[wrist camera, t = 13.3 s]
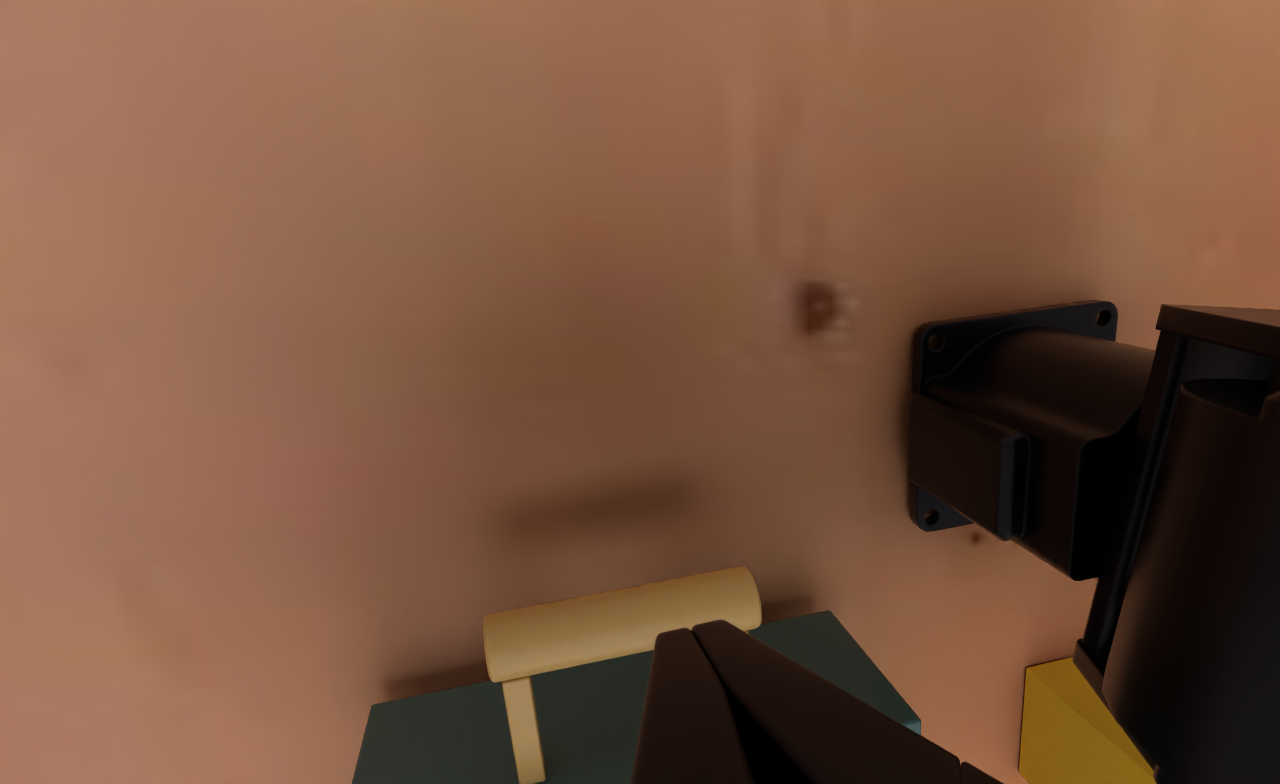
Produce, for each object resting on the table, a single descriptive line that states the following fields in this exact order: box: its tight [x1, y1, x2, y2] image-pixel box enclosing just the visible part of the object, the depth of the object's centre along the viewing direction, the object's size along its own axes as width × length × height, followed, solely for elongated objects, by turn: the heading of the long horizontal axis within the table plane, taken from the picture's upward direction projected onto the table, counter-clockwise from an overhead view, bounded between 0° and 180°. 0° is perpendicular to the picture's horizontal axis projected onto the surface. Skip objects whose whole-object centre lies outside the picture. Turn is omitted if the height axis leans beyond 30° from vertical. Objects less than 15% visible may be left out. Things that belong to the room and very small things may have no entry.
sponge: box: [1019, 657, 1157, 784], centre depth 22 cm, size 7×5×6 cm, turn 95°
